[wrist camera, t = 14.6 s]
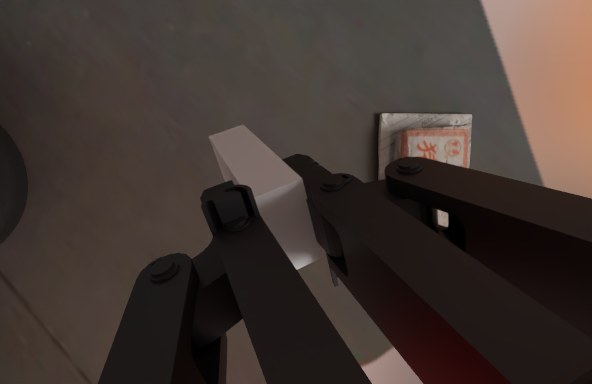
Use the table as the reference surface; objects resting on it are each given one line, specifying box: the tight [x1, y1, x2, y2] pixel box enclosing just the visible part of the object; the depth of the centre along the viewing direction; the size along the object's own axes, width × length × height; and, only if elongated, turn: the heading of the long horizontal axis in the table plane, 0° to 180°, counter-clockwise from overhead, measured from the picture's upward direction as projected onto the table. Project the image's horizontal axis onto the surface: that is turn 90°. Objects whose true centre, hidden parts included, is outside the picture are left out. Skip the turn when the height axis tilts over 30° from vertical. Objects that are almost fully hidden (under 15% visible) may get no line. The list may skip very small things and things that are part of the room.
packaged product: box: [378, 113, 472, 227], centre depth 38 cm, size 18×5×10 cm
